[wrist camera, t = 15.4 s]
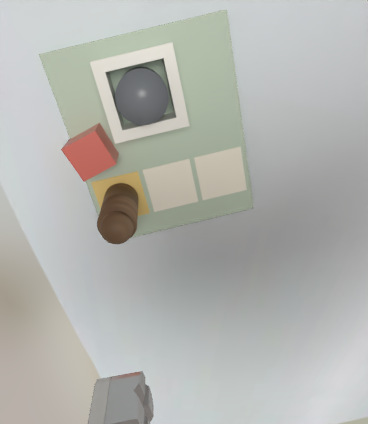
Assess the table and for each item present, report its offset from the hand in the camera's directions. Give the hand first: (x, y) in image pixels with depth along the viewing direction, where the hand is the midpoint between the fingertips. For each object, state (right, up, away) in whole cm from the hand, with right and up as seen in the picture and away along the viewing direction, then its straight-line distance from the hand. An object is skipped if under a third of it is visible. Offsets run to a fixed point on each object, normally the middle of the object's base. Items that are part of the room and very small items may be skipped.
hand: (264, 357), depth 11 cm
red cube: (-12, +11, +23) cm, 28 cm away
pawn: (-9, +6, +26) cm, 28 cm away
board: (-5, +12, +24) cm, 28 cm away
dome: (-7, +16, +21) cm, 27 cm away
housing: (-7, +16, +21) cm, 28 cm away
